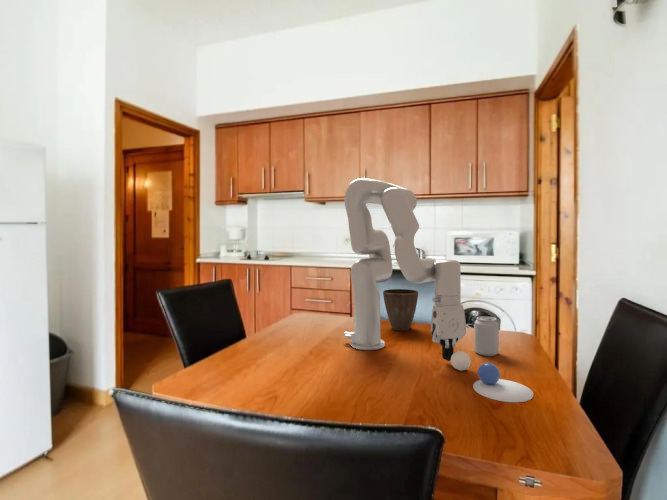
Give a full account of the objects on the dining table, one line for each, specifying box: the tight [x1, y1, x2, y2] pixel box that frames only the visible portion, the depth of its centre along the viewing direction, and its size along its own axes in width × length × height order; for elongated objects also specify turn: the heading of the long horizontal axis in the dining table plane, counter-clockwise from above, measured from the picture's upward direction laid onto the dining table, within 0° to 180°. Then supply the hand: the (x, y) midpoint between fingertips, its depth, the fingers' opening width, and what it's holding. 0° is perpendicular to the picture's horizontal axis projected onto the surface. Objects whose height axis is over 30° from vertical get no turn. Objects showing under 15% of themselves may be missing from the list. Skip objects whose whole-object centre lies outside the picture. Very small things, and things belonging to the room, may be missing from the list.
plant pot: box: [382, 288, 419, 331], centre depth 158 cm, size 15×15×16 cm
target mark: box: [472, 378, 534, 403], centre depth 95 cm, size 14×14×1 cm
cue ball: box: [450, 350, 471, 372], centre depth 109 cm, size 6×6×6 cm
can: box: [474, 315, 500, 357], centre depth 124 cm, size 8×8×12 cm
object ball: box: [477, 362, 501, 384], centre depth 99 cm, size 6×6×6 cm
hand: (447, 359), depth 114 cm, fingers closed
